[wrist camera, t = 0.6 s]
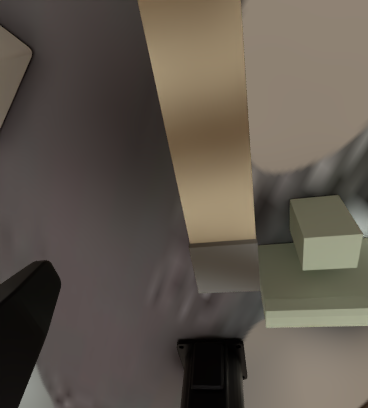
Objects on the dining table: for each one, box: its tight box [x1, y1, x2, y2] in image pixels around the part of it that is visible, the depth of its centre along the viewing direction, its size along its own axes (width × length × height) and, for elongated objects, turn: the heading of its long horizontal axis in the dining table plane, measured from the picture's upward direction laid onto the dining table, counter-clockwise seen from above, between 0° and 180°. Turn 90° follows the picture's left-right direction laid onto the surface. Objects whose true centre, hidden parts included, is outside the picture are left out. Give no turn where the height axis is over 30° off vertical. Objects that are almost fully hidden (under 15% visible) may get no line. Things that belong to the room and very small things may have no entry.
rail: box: [138, 0, 260, 293], centre depth 15 cm, size 18×4×5 cm, turn 10°
